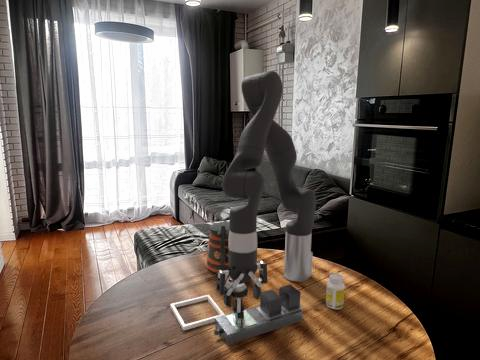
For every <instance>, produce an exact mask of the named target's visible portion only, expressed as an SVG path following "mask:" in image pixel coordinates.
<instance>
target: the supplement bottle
mask: <svg viewBox="0 0 480 360" xmlns="http://www.w3.org/2000/svg"><path fill="white" fill-rule="evenodd" d="M345 287H346V286H345V283H344V276H343V275H341V274H340V273H330V274H329V280H328V281H327V282H326V292H325V305H326V306H327V308H329V309H333V310H341V309H343V307H344V304H345V303H344V302H345V290H346V289H345Z"/></svg>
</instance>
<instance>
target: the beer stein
mask: <svg viewBox="0 0 480 360" xmlns="http://www.w3.org/2000/svg"><path fill="white" fill-rule="evenodd" d="M208 229H209V230H210V232H209V237H208V252H207V255H206V268H207V269H208V270H209V271H210V272H213V273H214V274H215V273H216V274H217V271H218V270H221V271H225V270H228V268H229V230H230V221H228V220H227V219H225V220H224V221H220V222H216V223H212V224H211V225H210V226H209V228H208Z"/></svg>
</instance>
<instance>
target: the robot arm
mask: <svg viewBox="0 0 480 360" xmlns="http://www.w3.org/2000/svg"><path fill="white" fill-rule="evenodd" d="M240 86H241V93H242V97H243V99H244V103H245V105H246V107H247V109H248V111H249V113H250V115H251V117H252V118H251V119H250V121H249V122H248V123H247V124H246V126H245V127H244V128H243V130H242V132H241V135H240V137H239V141H238V145H237V148H236V149H237V150H236V152H235V155H234V157H233V159H232V161H231V163H230V165H229V166H228V168H227V170H226V171H225V173H224V175H223V178H222V181H221V182H222V183H221V187H222V192H223V194H224V195H225V196H226V197H228V198H234V199H236V198H237V199H245V200H246V199H247V200H248V202H247V204H242V205H235V206H232V207H231V209H230V210H229V217H228V218H229V219H228V220H229V222H230V230H229V268H228V270H225V271H221V270H218V271H217V273H216V287H215V289H216V291H217V293H219V295H220V296H223V303H224V305H225V306H226V307H227V308H228V309H229V308H232V296H231V292H232V291H233V289H235V288H236V287H237V285H238V284H242V283H249V282H250V281H252V282H253V285H252V297H253V298H254V299H255V300H256V301H257V300H258V301H259V300H260V295H261V292H262V286H263V284H267V283H268V264H267V263H266V262H265V261H263V260H262V259H260V260H258V231H257V228H258V225H257V224H258V223H257V222H258V221H257V220H258V218H257V217H258V209H259V206H260V202H261V199H262V195H263V193H264V189H265V179H264V176H263V175H262V173H261V172H259V171H256V170H250V169H255V168H258V167H259V166H261V164H262V162H263V157H264V153H265V154H266V156H267V159H268V161H269V164H270V166H271V169H272V171H273V175H274V177H275V178H274V179H275V181H276V184H277V188H278V192H279V197H280V201H281V203H282V204H281V205H282V206H283V208H284V209H285V210H286V211H288V212H290V213H294V214H297V218H296V220H294V219H293V220H290V221H287V223H286V224H285V238H284V239H285V242H284V243H285V244H284V246H285V247H284V263H283V264H284V266H283V277H284V278H286V279H287V280H288V281H292V282H295V283H297V282H298V283H299V282H300V283H302V282H306V281H307V280H309V278H311V277H312V275H313V273H312V272H313V256H314V255H313V254H314V252H313V251H312V250H311V249H312V235H313V234H312V233H313V231H312V230H313V227H314V224H315V215H316V208H317V207H316V206H317V196H316V193H315V191H314V190H312V189H310V188H305V187H304V188H303V187H299V186H297V185H296V183H295V180H294V178H293V172H294V168H295V165H296V163H297V158H298V157H297V151H296V150H297V149H296V147H295V144H294V140H293V138H292V135H290V133H289V132H288V131H287V130H286V129H285V128H284V127H282V126H281V125H280V124H279V123H278V122H277V121H275V117H276V114H277V112H278V111H277V110H278V109H279V106H280V103H281V101H282V96H283V87H284V86H283V81H282V78H281V77H280V74H279V72H276V71H274V70H268V71H264V72H260V73H259V72H258V73H255V74H251V75H248V76H246V77H245V76H244V78H243V79H242V81H241V85H240ZM257 271H258V277H257V276H256V275H255V274H256V272H257Z"/></svg>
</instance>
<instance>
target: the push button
mask: <svg viewBox="0 0 480 360" xmlns="http://www.w3.org/2000/svg"><path fill="white" fill-rule="evenodd" d="M245 283H246V282H244V283H242V284H238V285H237V287H236V288H235V289H233V291H232V292H231V298H232V297H233V298H234V304H233V305H232V311H233V312H232V313H233V315H234V314H235V321H236V323H238V326H241V323H242V320H243V317H244V312H243V311H244V310H245V305H244V304H243V299H244V298H245V297H247V295H248V294H249V286H248V285H246V284H245ZM239 324H240V325H239Z"/></svg>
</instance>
